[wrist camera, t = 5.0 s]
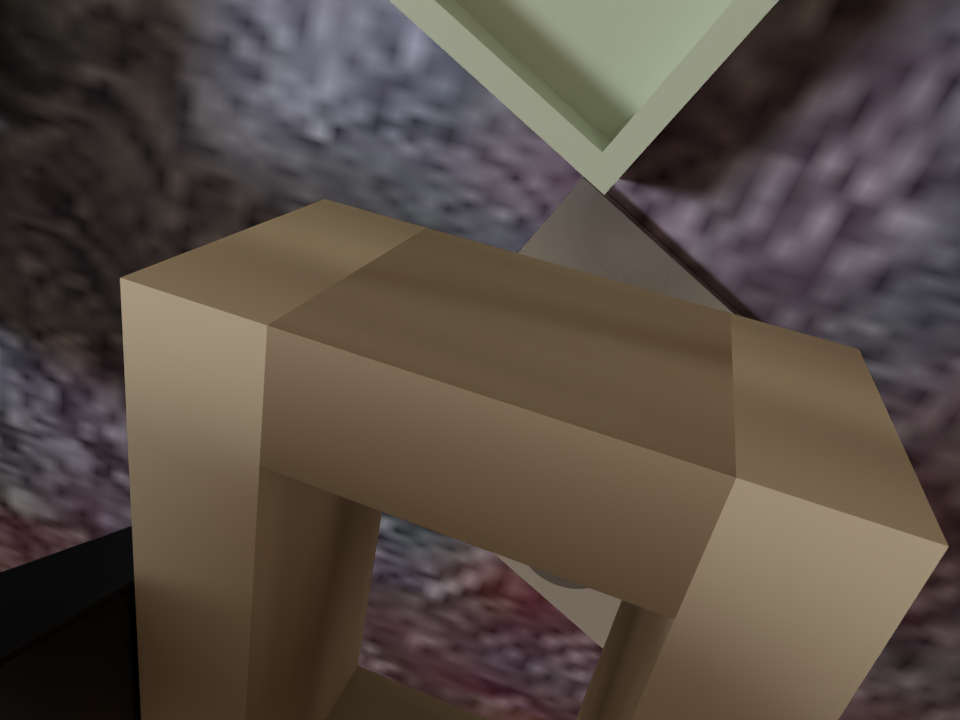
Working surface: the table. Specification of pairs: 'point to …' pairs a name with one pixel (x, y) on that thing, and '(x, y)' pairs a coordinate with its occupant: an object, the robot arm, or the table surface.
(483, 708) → the table surface
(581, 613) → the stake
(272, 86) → the table surface
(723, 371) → the wooden rectangular frame
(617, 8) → the tray
